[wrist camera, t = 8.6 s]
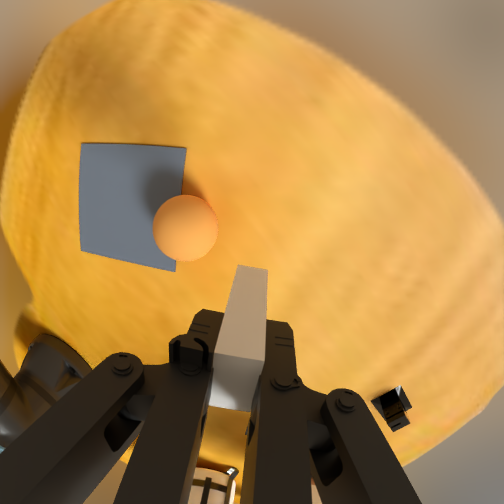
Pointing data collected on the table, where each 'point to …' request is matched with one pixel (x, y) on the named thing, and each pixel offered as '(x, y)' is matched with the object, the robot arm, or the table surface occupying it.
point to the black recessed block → (393, 408)
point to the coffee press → (213, 486)
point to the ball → (185, 228)
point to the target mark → (126, 199)
